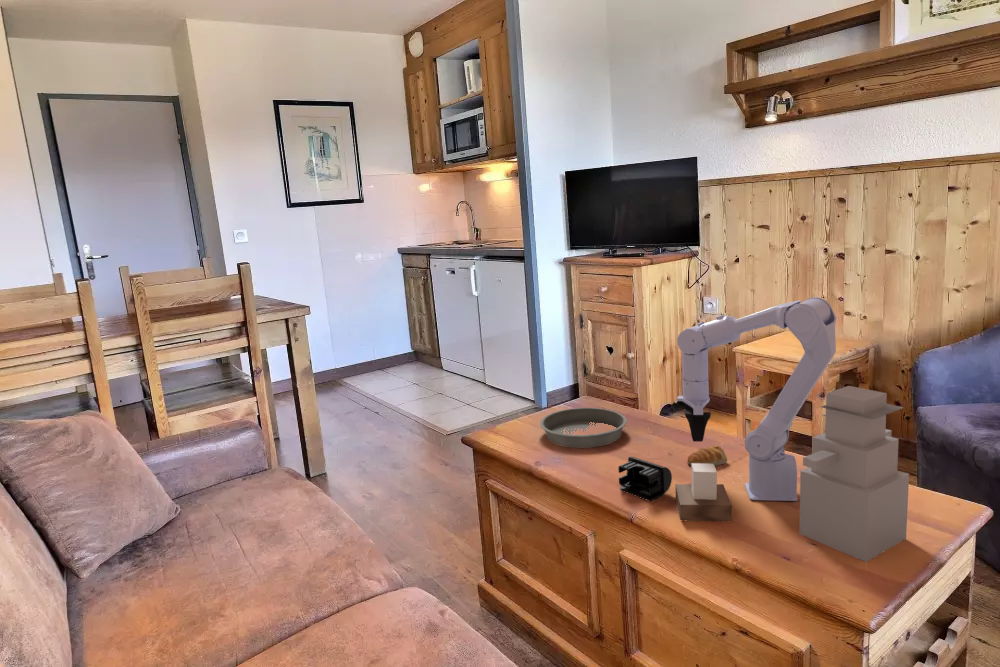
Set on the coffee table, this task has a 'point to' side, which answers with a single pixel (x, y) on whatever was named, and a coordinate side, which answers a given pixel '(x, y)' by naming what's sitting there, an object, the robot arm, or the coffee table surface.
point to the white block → (703, 481)
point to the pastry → (708, 456)
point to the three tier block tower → (854, 478)
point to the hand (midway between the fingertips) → (696, 435)
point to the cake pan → (582, 426)
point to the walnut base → (703, 505)
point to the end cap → (644, 479)
